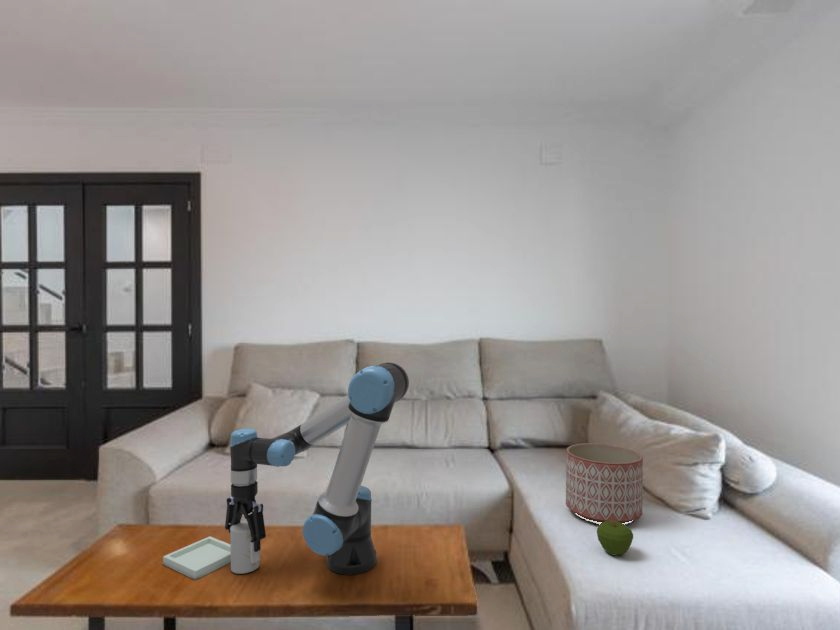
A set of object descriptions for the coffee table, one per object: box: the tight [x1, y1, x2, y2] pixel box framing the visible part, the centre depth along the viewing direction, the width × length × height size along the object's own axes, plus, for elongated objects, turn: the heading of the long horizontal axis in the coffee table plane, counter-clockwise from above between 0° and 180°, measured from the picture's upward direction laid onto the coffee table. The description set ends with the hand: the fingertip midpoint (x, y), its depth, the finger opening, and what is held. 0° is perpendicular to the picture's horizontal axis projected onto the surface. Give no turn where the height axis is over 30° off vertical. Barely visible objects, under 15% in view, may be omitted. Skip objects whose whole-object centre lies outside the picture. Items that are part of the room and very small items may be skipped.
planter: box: [565, 442, 644, 523], centre depth 192 cm, size 27×27×24 cm
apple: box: [596, 521, 634, 556], centre depth 161 cm, size 11×10×10 cm
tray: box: [162, 535, 231, 581], centre depth 155 cm, size 16×16×2 cm
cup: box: [229, 520, 261, 574], centre depth 151 cm, size 8×8×12 cm
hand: (245, 557), depth 151 cm, fingers closed on cup, 8 cm apart
